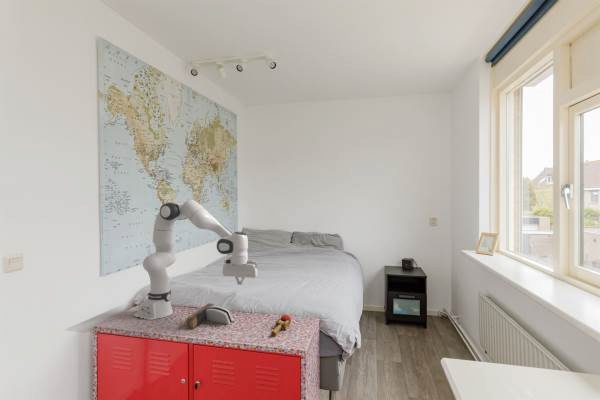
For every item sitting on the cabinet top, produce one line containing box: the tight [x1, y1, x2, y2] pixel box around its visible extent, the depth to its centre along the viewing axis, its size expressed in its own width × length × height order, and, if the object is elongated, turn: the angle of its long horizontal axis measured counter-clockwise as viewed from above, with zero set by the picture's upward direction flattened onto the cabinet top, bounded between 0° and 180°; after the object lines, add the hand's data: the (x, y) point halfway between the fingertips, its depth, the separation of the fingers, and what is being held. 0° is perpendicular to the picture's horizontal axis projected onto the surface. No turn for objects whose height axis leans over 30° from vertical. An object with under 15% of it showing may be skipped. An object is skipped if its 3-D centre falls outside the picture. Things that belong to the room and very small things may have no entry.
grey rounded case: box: [206, 305, 235, 325], centre depth 175 cm, size 17×5×10 cm, turn 65°
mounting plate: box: [196, 303, 213, 328], centre depth 176 cm, size 1×16×7 cm, turn 169°
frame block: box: [185, 303, 215, 330], centre depth 176 cm, size 4×24×6 cm, turn 168°
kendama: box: [270, 314, 292, 338], centre depth 164 cm, size 8×6×18 cm
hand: (240, 284), depth 173 cm, fingers closed
